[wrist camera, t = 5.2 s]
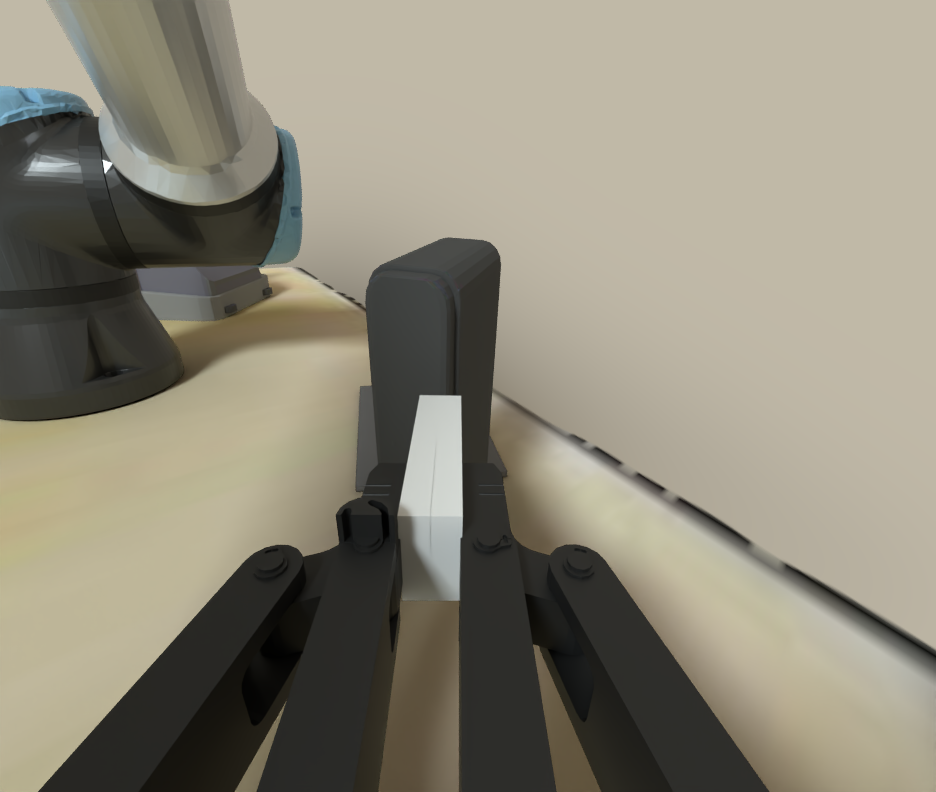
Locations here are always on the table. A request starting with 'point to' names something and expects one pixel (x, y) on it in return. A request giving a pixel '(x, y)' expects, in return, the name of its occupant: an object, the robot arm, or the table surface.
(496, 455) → the mat
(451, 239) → the card reader
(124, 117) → the robot arm
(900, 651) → the table surface
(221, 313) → the grey tapered box
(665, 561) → the table surface
